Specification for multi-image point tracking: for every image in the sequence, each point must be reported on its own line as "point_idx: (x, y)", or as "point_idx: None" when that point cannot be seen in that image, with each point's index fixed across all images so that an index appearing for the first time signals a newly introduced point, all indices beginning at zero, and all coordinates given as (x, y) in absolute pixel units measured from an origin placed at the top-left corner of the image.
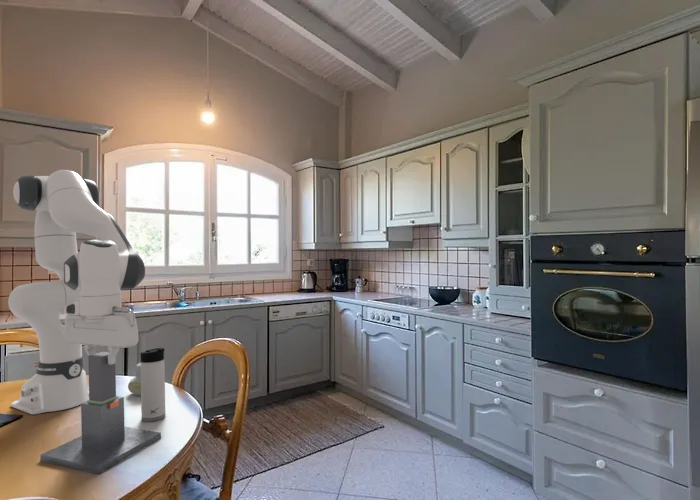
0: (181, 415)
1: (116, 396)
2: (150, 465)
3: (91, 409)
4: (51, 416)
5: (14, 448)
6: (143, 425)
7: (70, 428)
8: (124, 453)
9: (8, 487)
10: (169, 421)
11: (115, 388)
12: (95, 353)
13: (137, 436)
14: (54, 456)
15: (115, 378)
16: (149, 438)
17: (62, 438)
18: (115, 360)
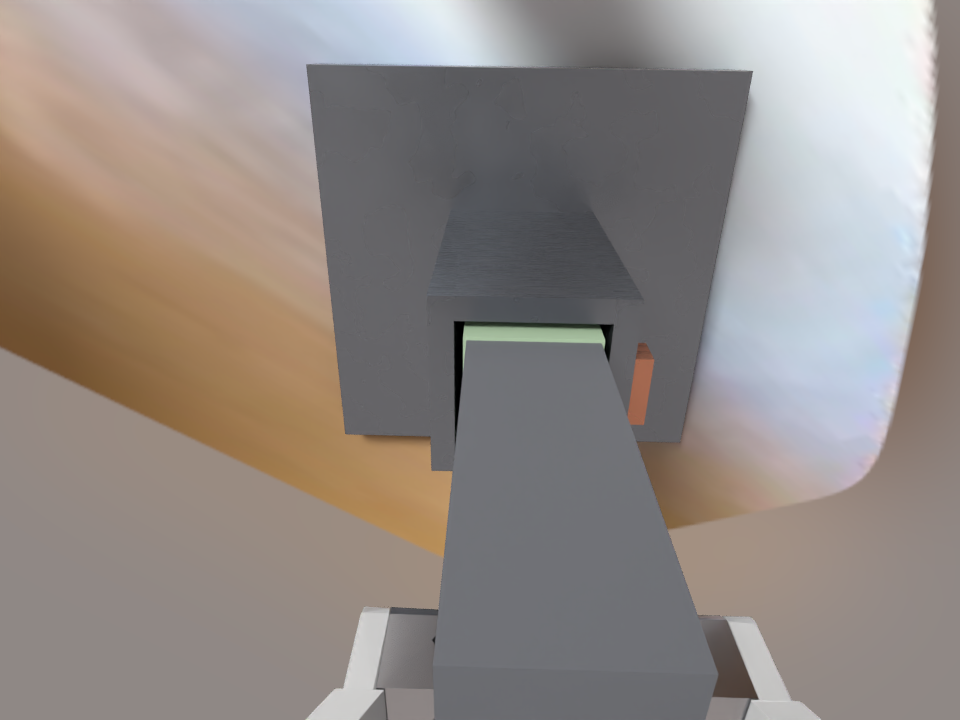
0: None
1: (604, 340)
2: (850, 323)
3: None
4: None
5: (113, 374)
6: None
7: (88, 127)
8: (701, 324)
9: (437, 548)
10: None
11: (611, 377)
12: (376, 711)
13: (642, 164)
14: (419, 429)
15: (630, 427)
16: (730, 163)
17: (196, 239)
18: (762, 644)
